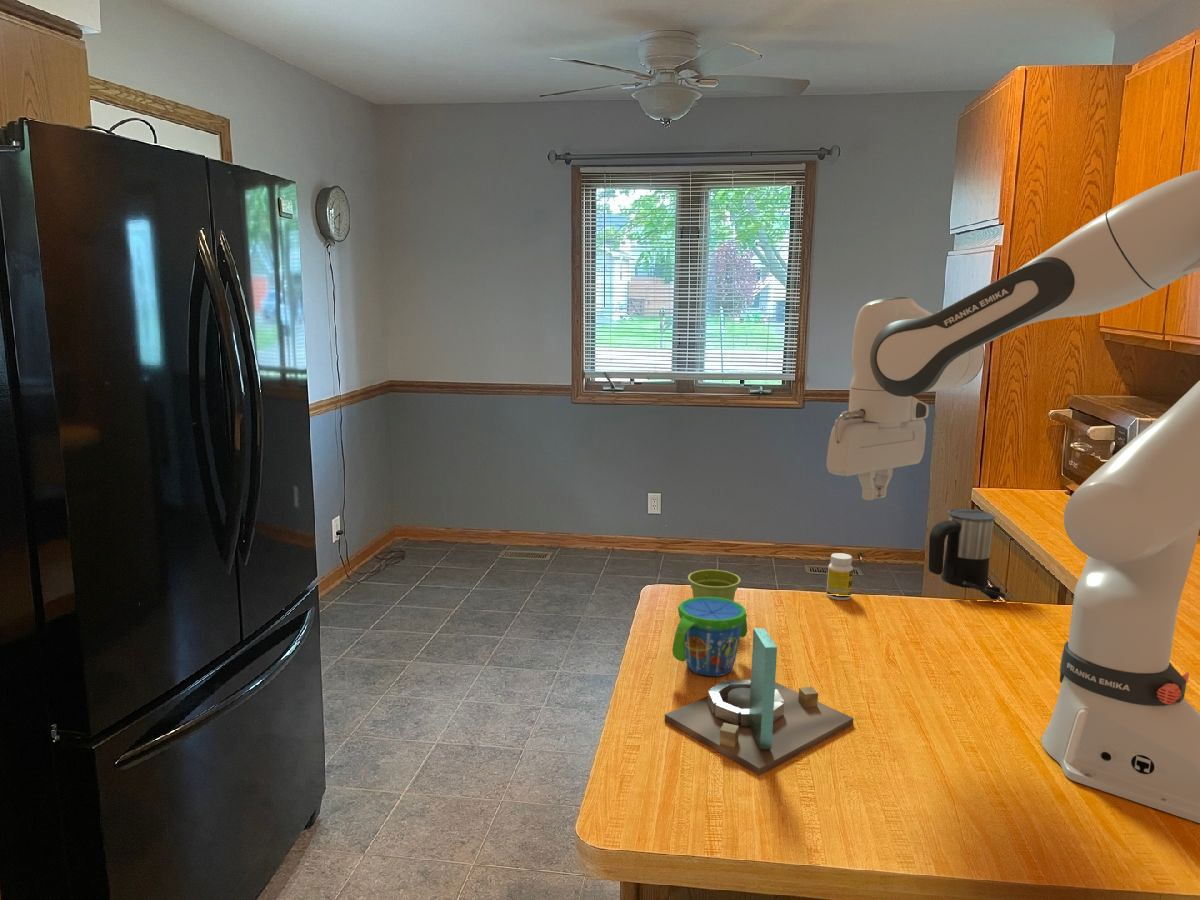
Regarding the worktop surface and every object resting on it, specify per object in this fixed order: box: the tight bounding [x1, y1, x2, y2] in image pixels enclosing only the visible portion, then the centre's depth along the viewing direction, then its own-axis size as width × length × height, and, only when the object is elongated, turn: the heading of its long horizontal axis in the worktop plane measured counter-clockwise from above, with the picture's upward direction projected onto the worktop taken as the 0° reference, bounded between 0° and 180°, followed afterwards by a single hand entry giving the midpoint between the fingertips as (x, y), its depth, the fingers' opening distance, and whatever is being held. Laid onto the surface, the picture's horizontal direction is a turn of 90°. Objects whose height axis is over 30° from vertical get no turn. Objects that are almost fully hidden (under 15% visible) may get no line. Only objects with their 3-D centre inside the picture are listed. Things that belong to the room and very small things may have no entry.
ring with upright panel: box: [707, 627, 784, 749], centre depth 114 cm, size 13×13×14 cm
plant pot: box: [687, 569, 741, 601], centre depth 150 cm, size 9×9×9 cm
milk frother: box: [928, 508, 1006, 601], centre depth 168 cm, size 14×16×15 cm
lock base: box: [664, 677, 854, 776], centre depth 115 cm, size 17×20×3 cm
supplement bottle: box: [826, 552, 854, 601], centre depth 164 cm, size 5×5×8 cm
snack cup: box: [671, 597, 748, 677], centre depth 132 cm, size 16×10×10 cm
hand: (873, 498), depth 126 cm, fingers closed
